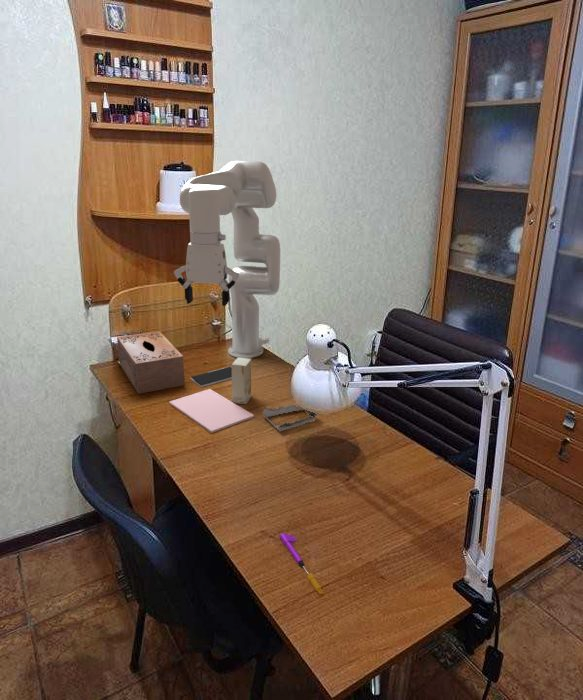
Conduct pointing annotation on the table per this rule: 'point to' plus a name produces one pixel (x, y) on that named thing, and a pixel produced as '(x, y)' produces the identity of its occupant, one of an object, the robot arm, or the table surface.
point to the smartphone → (213, 377)
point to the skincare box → (241, 380)
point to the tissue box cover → (150, 361)
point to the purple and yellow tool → (299, 559)
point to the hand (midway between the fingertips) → (207, 303)
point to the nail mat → (211, 410)
